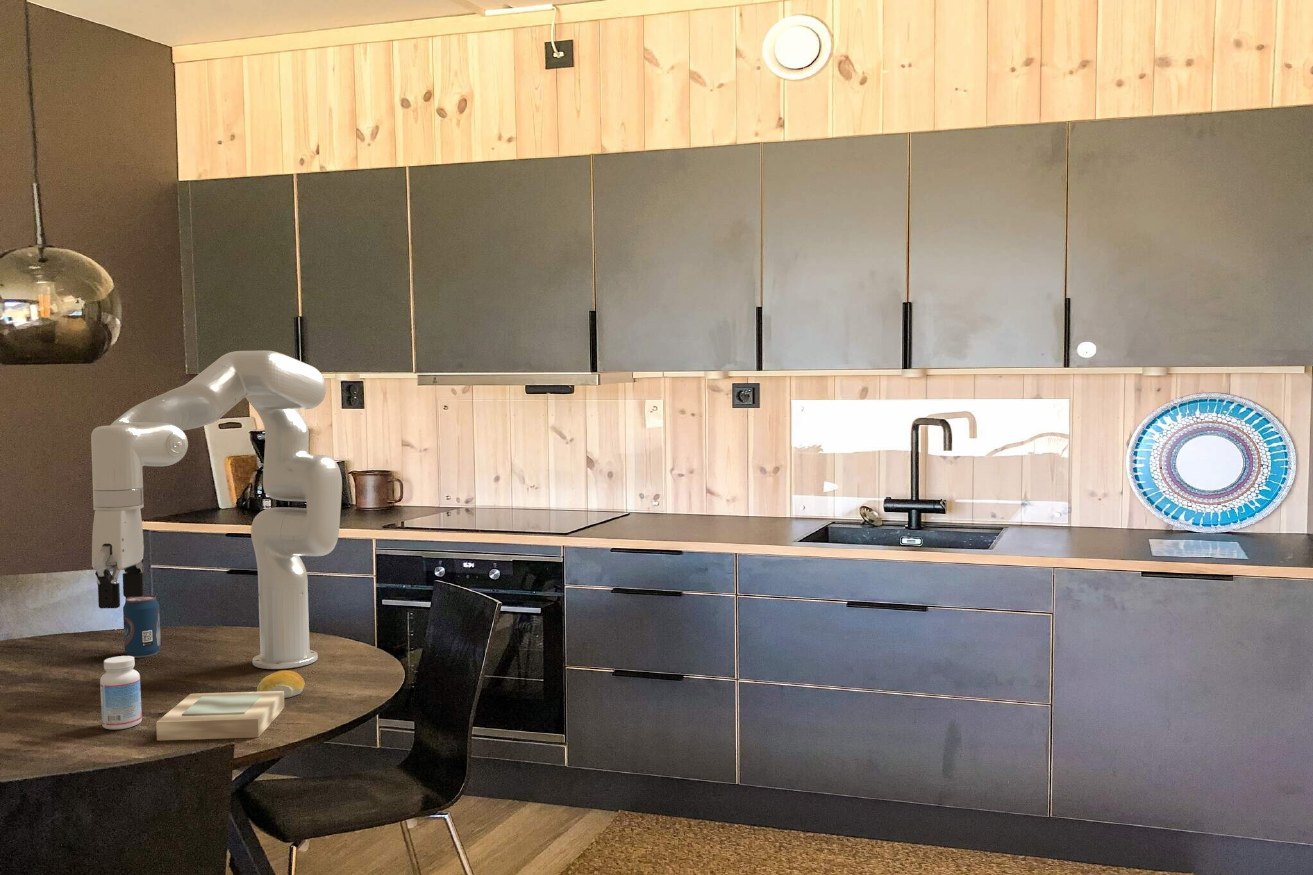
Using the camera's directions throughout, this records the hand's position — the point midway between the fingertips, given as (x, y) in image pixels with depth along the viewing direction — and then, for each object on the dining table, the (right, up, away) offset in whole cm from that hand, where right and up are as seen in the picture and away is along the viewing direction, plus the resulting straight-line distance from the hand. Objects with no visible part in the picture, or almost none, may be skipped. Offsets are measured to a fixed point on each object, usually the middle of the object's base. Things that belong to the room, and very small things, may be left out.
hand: (121, 601), depth 187 cm
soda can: (-19, -19, +50) cm, 56 cm away
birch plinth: (+16, -21, +2) cm, 26 cm away
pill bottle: (-1, -21, +2) cm, 21 cm away
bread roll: (+20, -20, +20) cm, 35 cm away
